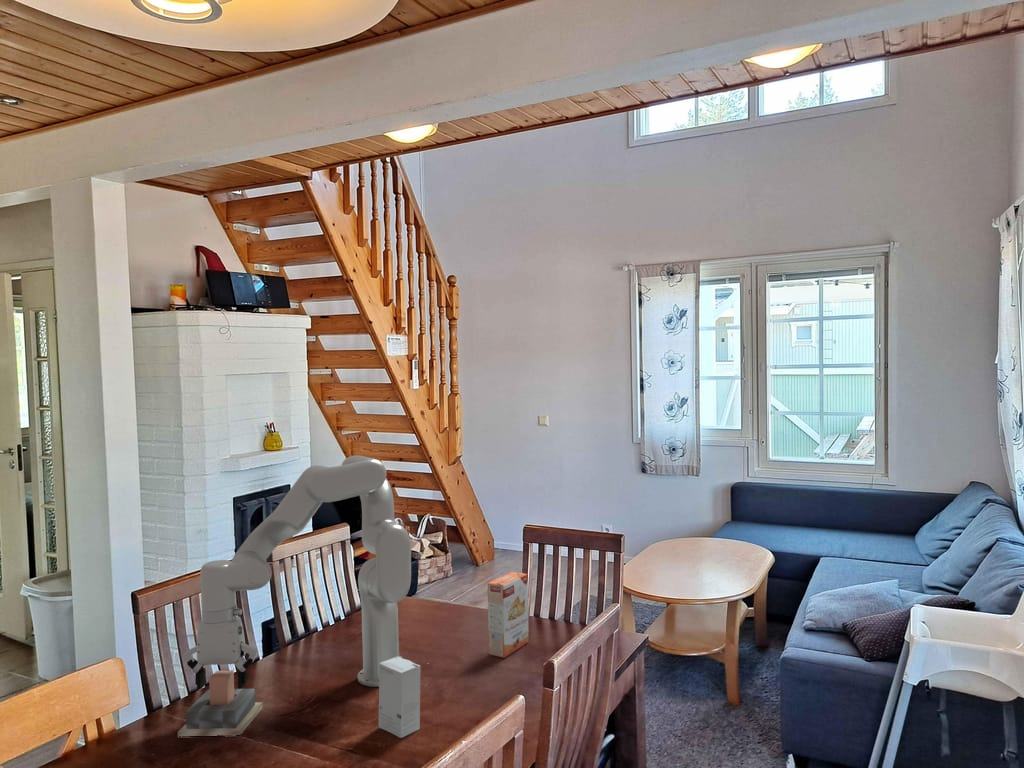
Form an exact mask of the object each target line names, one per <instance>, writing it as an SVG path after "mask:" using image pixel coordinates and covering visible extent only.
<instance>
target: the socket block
mask: <svg viewBox="0 0 1024 768" xmlns="http://www.w3.org/2000/svg"><path fill="white" fill-rule="evenodd" d="M263 706H264V705H263V702H261V701H259V702H256V688H242V689H239V688H234V699H233V700H232V701H231V702H230V703H229V704H228V705H210V689H207V690H206V691H205V693H203V694H202V695H201V696H200V697H199V698H198V699H197V700H196V701H195V702H194V703H193V704H192V705H191V706H190V707H188V708H187V710H186V711H185V724H184V725H183V726H182V727H181V728H180V729H179V730H178V731H177V738H183V737H182V736H217V735H240V734H241V735H242V734H243V733H244V731H245V730H246V729H247V728H248V726H250V724H251V722H252V721H253V720H254V719H255V718H256V716H258V714H259V713H260V712H261V710H262V709H263V708H264V707H263ZM241 735H240V736H241ZM179 736H181V737H179Z"/></svg>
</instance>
